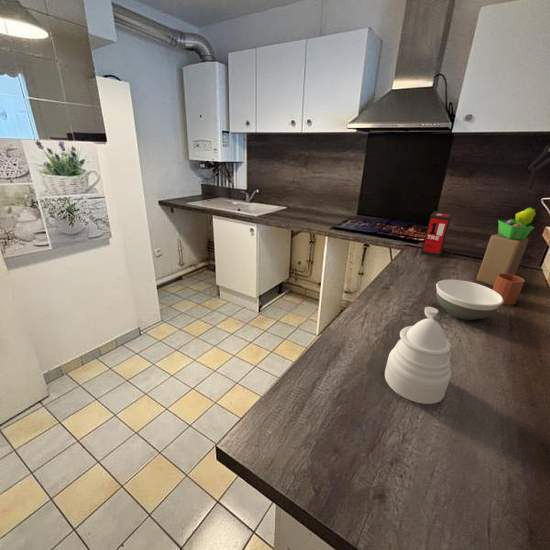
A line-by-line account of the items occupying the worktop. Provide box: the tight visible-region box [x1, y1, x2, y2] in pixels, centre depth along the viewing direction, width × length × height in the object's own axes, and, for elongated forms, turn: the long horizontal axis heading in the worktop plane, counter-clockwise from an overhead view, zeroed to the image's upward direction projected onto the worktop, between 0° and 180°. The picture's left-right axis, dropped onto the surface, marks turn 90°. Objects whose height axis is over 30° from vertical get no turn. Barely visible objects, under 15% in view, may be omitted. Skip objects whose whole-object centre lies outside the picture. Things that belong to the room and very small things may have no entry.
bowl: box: [435, 279, 503, 321], centre depth 95 cm, size 19×19×8 cm
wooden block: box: [476, 233, 529, 287], centre depth 118 cm, size 10×10×20 cm
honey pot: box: [384, 306, 452, 405], centre depth 63 cm, size 13×13×18 cm
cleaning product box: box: [420, 210, 454, 258], centre depth 154 cm, size 16×9×20 cm, turn 147°
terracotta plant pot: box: [491, 273, 526, 306], centre depth 105 cm, size 8×8×9 cm
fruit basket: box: [497, 207, 537, 240], centre depth 111 cm, size 11×9×11 cm
